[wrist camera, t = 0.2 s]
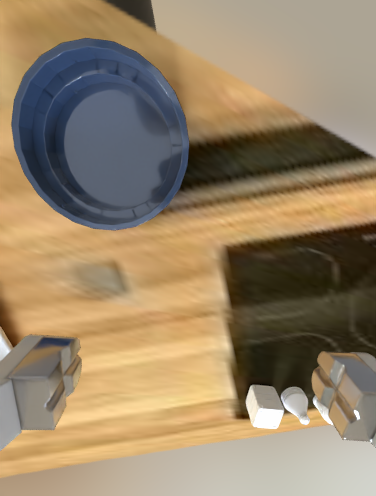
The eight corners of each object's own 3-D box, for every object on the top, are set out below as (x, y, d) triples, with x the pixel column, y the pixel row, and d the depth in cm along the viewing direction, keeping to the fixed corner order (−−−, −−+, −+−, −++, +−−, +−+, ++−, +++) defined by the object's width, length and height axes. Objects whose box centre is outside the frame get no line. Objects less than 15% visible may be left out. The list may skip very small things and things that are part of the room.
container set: (244, 400, 48) (252, 428, 42) (250, 382, 46) (259, 408, 41) (332, 408, 49) (350, 435, 44) (340, 390, 48) (360, 417, 42)
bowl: (34, 57, 28) (-3, 26, 23) (193, 75, 29) (196, 50, 24) (50, 215, 35) (24, 223, 29) (181, 226, 36) (181, 235, 30)
